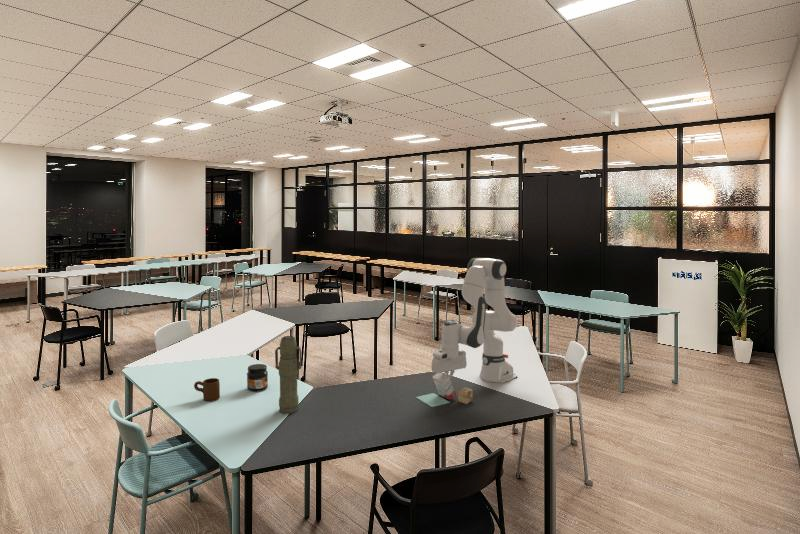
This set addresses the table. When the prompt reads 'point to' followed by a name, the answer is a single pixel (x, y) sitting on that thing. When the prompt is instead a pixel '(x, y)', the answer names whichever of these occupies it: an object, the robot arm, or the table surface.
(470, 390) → the oak block
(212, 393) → the mug
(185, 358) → the table surface
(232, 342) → the table surface
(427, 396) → the mat
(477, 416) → the table surface
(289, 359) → the thermos
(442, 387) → the ink box
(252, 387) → the supplement container
